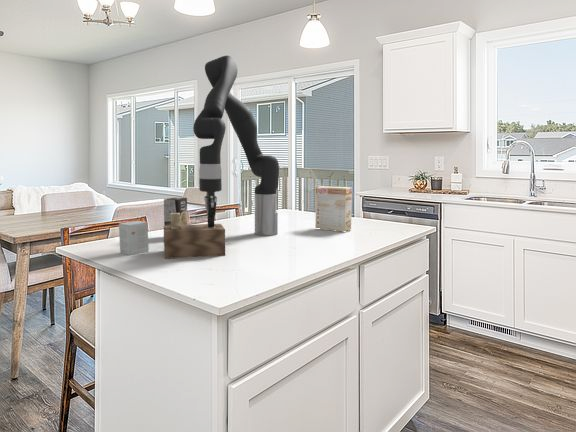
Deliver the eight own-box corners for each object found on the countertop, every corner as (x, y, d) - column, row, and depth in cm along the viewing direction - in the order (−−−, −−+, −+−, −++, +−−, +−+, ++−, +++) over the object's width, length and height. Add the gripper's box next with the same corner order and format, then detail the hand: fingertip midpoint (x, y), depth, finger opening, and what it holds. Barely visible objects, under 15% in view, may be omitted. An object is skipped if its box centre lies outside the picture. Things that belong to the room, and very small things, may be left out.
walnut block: (220, 247, 167) (220, 223, 166) (225, 255, 156) (225, 229, 155) (164, 250, 162) (163, 225, 161) (164, 258, 151) (163, 231, 149)
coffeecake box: (351, 230, 206) (352, 187, 204) (344, 232, 200) (345, 188, 198) (322, 227, 214) (323, 185, 211) (314, 229, 208) (315, 186, 206)
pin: (180, 235, 158) (179, 212, 157) (180, 237, 156) (180, 214, 154) (171, 236, 158) (170, 213, 156) (171, 237, 155) (170, 214, 154)
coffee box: (179, 240, 181) (178, 199, 179) (164, 239, 183) (162, 199, 180) (188, 236, 190) (187, 197, 188) (174, 235, 191) (173, 196, 189)
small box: (138, 249, 164) (137, 220, 163) (149, 251, 161) (148, 221, 160) (119, 253, 158) (118, 223, 156) (129, 255, 155) (128, 224, 153)
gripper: (223, 178, 151) (224, 230, 154) (219, 176, 164) (219, 223, 167) (200, 178, 150) (201, 230, 152) (197, 176, 162) (198, 224, 165)
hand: (211, 227), depth 159 cm, fingers closed
